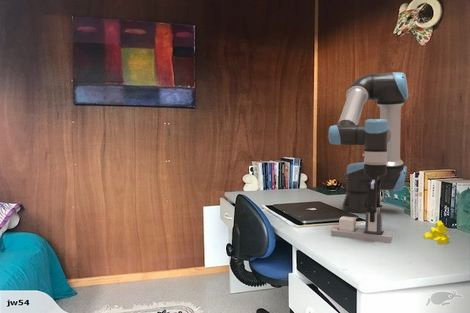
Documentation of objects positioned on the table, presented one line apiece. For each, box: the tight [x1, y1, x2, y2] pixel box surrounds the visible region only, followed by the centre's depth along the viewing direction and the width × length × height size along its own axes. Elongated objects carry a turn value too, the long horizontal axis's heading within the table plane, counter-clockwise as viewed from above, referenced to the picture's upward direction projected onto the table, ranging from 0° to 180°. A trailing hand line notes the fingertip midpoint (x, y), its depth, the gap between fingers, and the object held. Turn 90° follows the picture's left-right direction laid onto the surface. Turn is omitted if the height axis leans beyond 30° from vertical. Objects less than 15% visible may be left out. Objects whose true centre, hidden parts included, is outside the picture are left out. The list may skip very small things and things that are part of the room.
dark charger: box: [364, 211, 383, 235], centre depth 135 cm, size 5×5×9 cm
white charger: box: [338, 216, 357, 232], centre depth 139 cm, size 5×5×6 cm
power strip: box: [330, 224, 394, 244], centre depth 137 cm, size 8×20×4 cm, turn 63°
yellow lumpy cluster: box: [423, 220, 450, 245], centre depth 134 cm, size 6×8×8 cm
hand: (373, 228), depth 135 cm, fingers open, 8 cm apart
